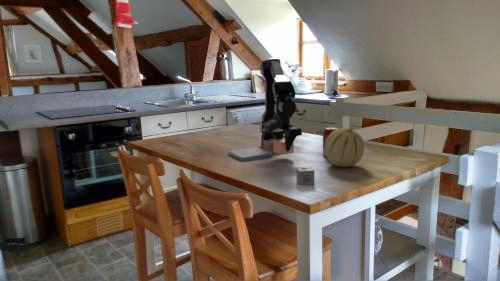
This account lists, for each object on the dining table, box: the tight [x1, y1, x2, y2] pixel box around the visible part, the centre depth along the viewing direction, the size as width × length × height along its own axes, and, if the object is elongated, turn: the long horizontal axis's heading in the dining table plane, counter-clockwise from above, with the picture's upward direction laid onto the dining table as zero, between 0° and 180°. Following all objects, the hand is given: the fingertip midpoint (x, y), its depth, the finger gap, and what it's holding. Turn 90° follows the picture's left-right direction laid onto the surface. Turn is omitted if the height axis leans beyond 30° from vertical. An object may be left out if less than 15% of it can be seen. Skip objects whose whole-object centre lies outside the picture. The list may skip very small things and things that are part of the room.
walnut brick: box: [262, 139, 276, 154], centre depth 175 cm, size 6×6×5 cm
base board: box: [227, 146, 273, 162], centre depth 169 cm, size 14×14×2 cm
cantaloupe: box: [325, 127, 365, 168], centre depth 147 cm, size 15×15×15 cm
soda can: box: [322, 126, 339, 158], centre depth 163 cm, size 7×7×12 cm
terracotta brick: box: [273, 138, 295, 155], centre depth 161 cm, size 6×6×5 cm
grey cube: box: [296, 165, 315, 186], centre depth 130 cm, size 5×5×5 cm
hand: (283, 149), depth 161 cm, fingers closed on terracotta brick, 6 cm apart
